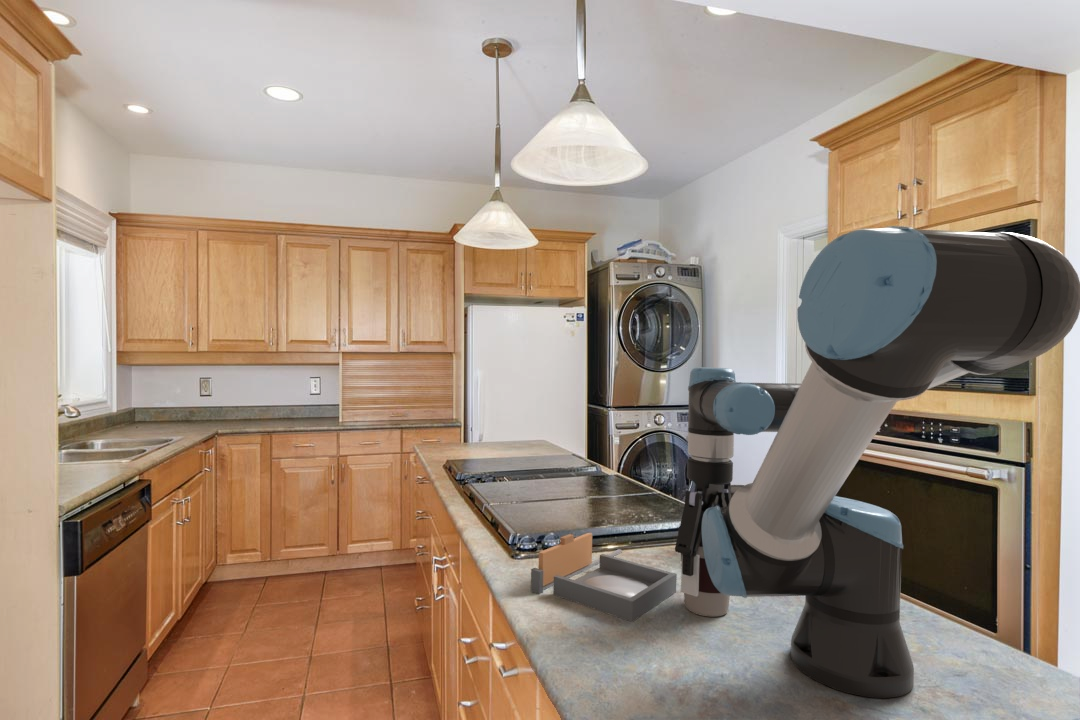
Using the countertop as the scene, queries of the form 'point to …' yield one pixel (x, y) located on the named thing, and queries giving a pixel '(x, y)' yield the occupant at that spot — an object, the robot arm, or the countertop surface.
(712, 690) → the countertop surface
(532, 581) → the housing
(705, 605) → the coffee cup
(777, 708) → the countertop surface
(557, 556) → the lid panel
